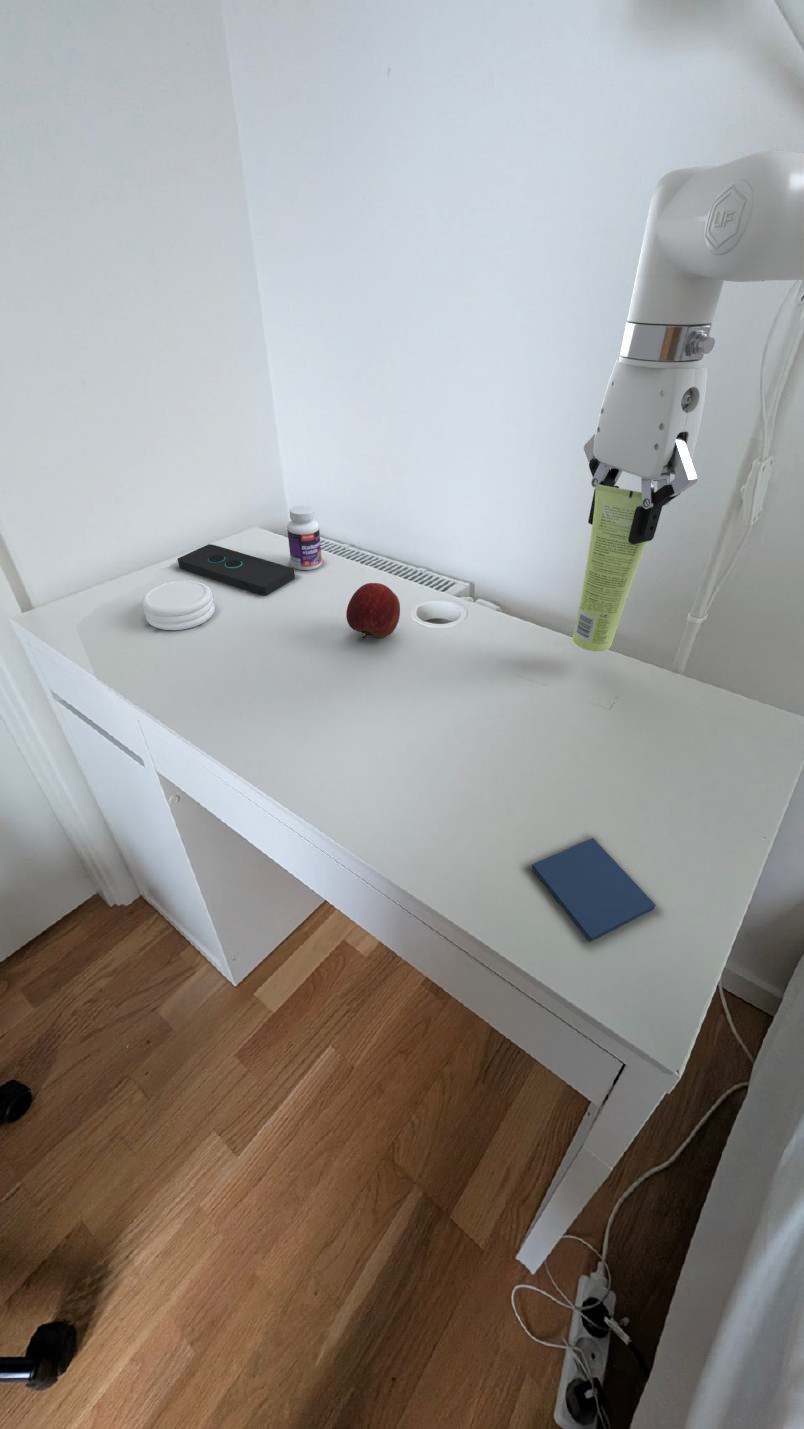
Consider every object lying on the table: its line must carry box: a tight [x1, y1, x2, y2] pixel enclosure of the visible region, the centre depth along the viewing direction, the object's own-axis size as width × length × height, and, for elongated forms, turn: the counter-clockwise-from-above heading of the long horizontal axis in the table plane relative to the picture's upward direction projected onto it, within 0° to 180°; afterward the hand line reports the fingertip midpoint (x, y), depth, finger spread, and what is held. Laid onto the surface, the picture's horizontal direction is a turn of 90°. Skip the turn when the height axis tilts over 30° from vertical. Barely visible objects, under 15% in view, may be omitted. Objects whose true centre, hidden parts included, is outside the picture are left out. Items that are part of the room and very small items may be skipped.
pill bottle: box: [286, 505, 323, 571], centre depth 99 cm, size 5×5×10 cm
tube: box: [572, 484, 664, 652], centre depth 69 cm, size 6×5×20 cm
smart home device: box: [177, 543, 296, 596], centre depth 99 cm, size 8×2×20 cm
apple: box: [345, 582, 401, 639], centre depth 81 cm, size 7×8×8 cm
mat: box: [531, 837, 656, 943], centre depth 51 cm, size 8×7×1 cm
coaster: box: [141, 579, 216, 631], centre depth 87 cm, size 10×10×4 cm
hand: (619, 530), depth 66 cm, fingers closed on tube, 5 cm apart
